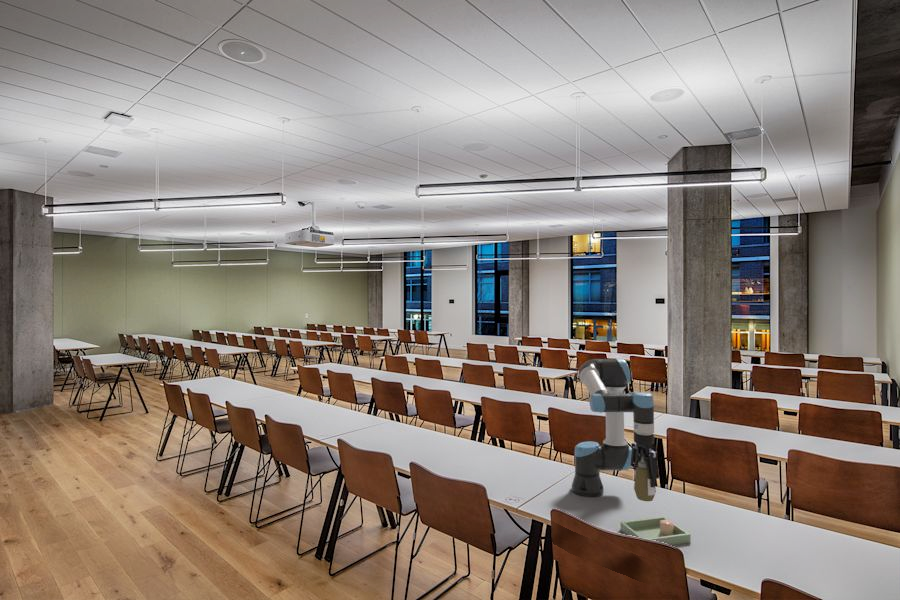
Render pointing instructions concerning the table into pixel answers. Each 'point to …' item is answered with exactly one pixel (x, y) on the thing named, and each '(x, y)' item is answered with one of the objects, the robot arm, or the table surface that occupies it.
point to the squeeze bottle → (642, 482)
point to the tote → (654, 531)
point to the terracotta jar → (666, 528)
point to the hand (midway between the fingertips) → (644, 490)
